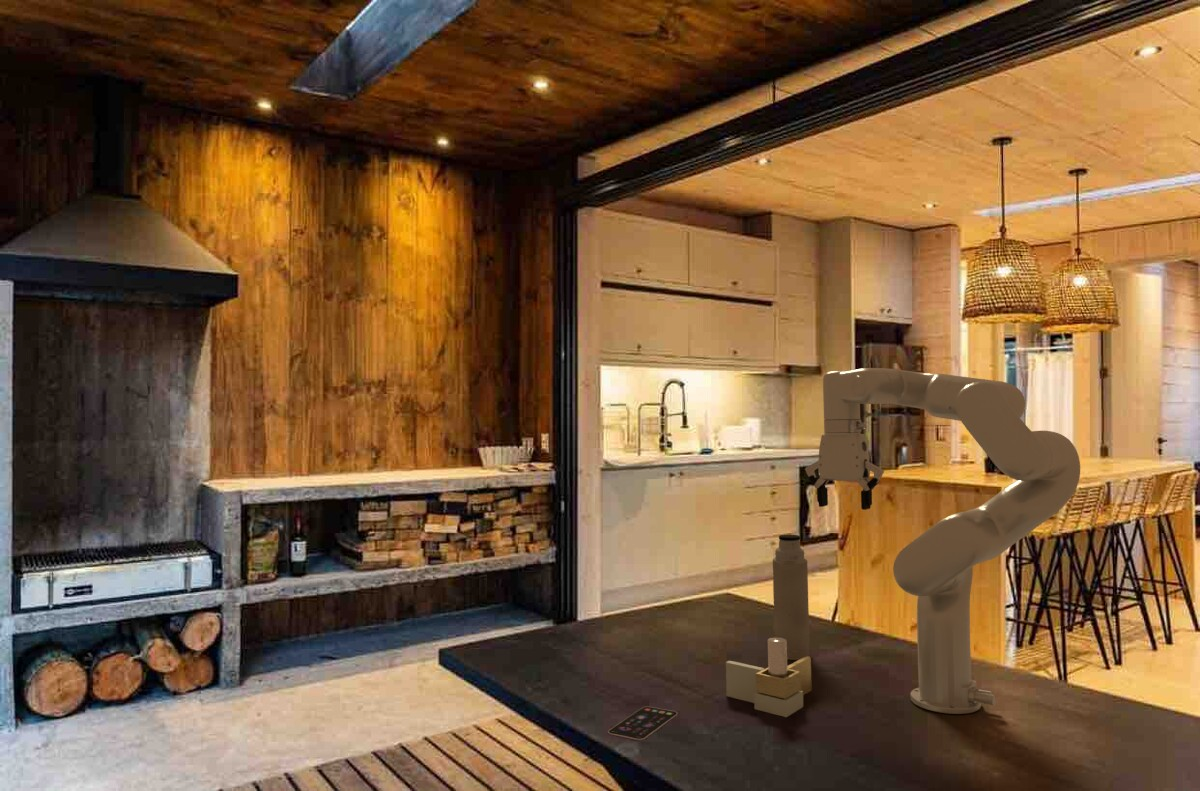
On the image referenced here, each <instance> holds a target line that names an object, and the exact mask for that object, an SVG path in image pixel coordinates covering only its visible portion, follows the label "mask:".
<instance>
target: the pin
mask: <svg viewBox="0 0 1200 791" xmlns="http://www.w3.org/2000/svg"><path fill="white" fill-rule="evenodd" d="M767 663H768V664H767V665H768V666H767V668H768V672H769V675H770V676H774V677H779V678H783V679H784V678H785V677H787V676H788V672H787V666H788V659H787V640H786V639H783V638H774V637H770V638H767ZM769 696H772V695H769ZM772 697H776V696H772ZM776 698H780V697H776ZM787 698H788V697H787ZM787 698H786V699H787ZM780 699H784V698H780ZM784 700H785V699H784Z"/></svg>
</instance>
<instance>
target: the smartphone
mask: <svg viewBox="0 0 1200 791" xmlns="http://www.w3.org/2000/svg"><path fill="white" fill-rule="evenodd" d="M677 716H678V712H677V711H675V710H670V709H664V708H659V707H655V706H654V707H653V706H643V707H641V708H640V709H638V710H637V711H635V712H633V713H632V714H630V716H629V715H628V716H627V717H626V718H625V719H624V720H621V721H620V722H618V723H617V724H616V725H614V726H612V727H611V728H610V729H609V730H608V731H607V734H609V735H611V736H616V737H620V738H626V739H629V740H634V741H645V740H646V739H648V738H649V737H650V736H651V735H653V734H655V733H656V732H657V731H658V730H659V729H661V728H662V727H663V726H665V725H666V724H668V723H669V722H671V721H672V720H673V719H674V718H675V717H677Z"/></svg>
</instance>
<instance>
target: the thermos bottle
mask: <svg viewBox="0 0 1200 791" xmlns="http://www.w3.org/2000/svg"><path fill="white" fill-rule="evenodd" d="M800 540H801V535H797V534H780V535H778V547H777V548H775V549H774V550H775V552H774V555H775V557H773V558H772V576H773V577H772V581H773V583H772V584H773V585H772V591H773V592H772V594H773V626H774V631H773V632H774V637H773V638H783V639H786V640H787V660H791V661H793V660H794V661H798V660H800V659H802V658H804V657H806V656H808V657H811V656H810V620H809V619H810V617H809V615H810V613H809V612H810V611H809V580H808V579H809V574H808V568H809V567H808V559H807V558H805V554H806V553H805V550H804V548H802V547H801V542H800Z"/></svg>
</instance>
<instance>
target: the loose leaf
mask: <svg viewBox="0 0 1200 791" xmlns="http://www.w3.org/2000/svg"><path fill="white" fill-rule="evenodd" d="M764 669H765V668H764V667H760V666H757V665H751V664H748V663H742V662H738V661H734V660H733V661H732V660H727V661H726V662H725V677H726V678H725V680H726V684H725V685H726V689H725V690H726V697H729V698H732V699H737V700H740V701H744V702H748V703H752V704H754V707H753V708H754V710H757V711H761V712H765V713H767V714H772V715H776V716H781V717H783V718H787V717H789V716H791V715H793V714H794V713H796V712H797V711H799V710H800V709H802V708H804V695H803V691H800V690H799V691H798V692H796V693H794V694H793V695H791V696H789V697H788V698H787V699H785V700H784V699H780V698H776V697H772V696H769V695H768V694H764V693H759V692H756V673H758V672H760V671H762V670H764Z"/></svg>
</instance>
